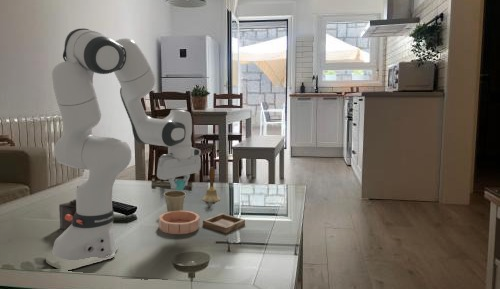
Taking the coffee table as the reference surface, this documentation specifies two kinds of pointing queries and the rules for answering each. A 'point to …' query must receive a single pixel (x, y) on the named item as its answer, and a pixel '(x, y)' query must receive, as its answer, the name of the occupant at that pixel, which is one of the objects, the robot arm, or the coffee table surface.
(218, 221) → the tray
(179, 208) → the flower pot
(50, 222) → the coffee table surface
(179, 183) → the ball
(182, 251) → the coffee table surface
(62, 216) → the dark grey box
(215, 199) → the hand bell
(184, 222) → the bowl
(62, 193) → the coffee table surface
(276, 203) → the coffee table surface
